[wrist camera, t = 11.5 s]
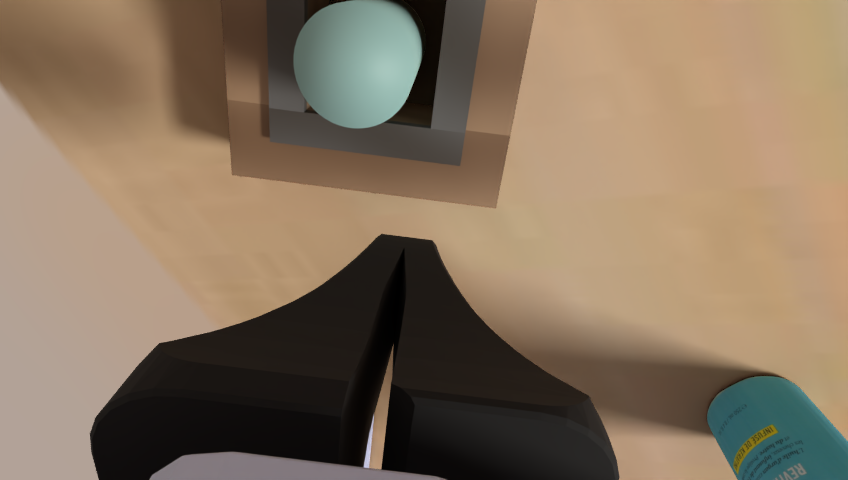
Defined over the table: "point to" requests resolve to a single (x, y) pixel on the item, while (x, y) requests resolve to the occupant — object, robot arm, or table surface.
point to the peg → (359, 60)
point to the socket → (396, 137)
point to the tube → (776, 433)
